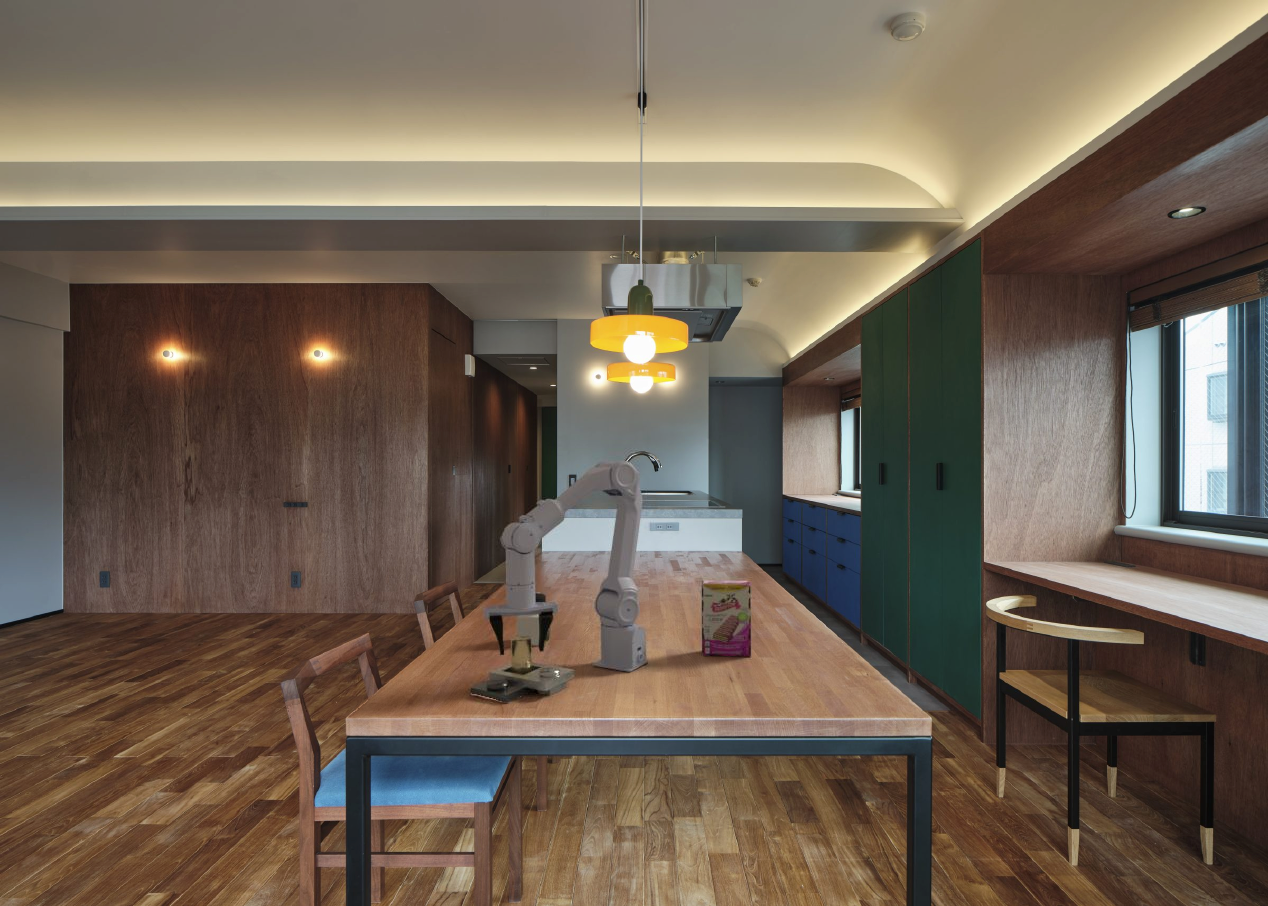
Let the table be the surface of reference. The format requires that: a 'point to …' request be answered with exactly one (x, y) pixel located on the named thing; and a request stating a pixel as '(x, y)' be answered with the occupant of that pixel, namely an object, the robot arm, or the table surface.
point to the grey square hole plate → (536, 677)
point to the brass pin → (521, 655)
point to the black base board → (500, 690)
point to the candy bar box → (726, 618)
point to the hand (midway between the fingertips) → (521, 651)
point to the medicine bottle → (532, 624)
